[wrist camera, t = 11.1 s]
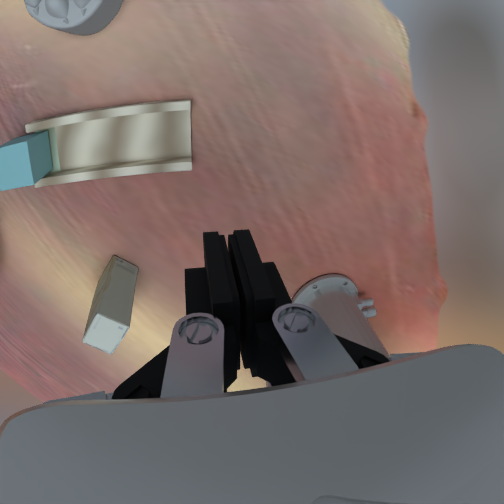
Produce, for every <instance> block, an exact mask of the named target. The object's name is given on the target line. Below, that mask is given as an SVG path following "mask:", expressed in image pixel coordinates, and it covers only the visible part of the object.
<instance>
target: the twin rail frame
mask: <svg viewBox="0 0 504 504" xmlns="http://www.w3.org/2000/svg"><path fill="white" fill-rule="evenodd" d="M190 110H191V109H190V99H185V100H169V101H156V102H146V103H136V104H127V105H119V106H112V107H105V108H98V109H92V110H86V111H80V112H75V113H69V114H64V115H59V116H54V117H50V118H45V119H41V120H37V121H34V122H32V123H29V124H27V125H25V127H26V133H29V132H33V131H35V133H38V132H43V131H48V136H49V144H50V152H51V159H52V165H53V169H52V170H51V171H49V172H48V173H47V174H46V175H45V176H44V177H42V178H41V179H40V180H39V181H38V182H37V183H36V184H35V188H37V187H43V186H49V185H55V184H62V183H69V182H76V181H84V180H91V179H100V178H108V177H117V176H127V175H137V174H148V173H159V172H172V171H187V170H192V159H191V118H190Z"/></svg>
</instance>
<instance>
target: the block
mask: <svg viewBox="0 0 504 504" xmlns="http://www.w3.org/2000/svg"><path fill="white" fill-rule="evenodd" d="M52 169H53V165H52V159H51V152H50V144H49V136H48V131H43V132H38V133H34V134H29V135H25V136H21V137H17V138H15V139H13V140H11V141H9V142H7V143H5V144H3V145H1V146H0V189H1V191H3V190H8V189H13V188H19V187H24V186H30V185H34V184H36V183H37V182H38V181H39V180H40V179H41V178H42V177H44V176H45V175H46V174H47V173H48V172H49V171H51V170H52Z"/></svg>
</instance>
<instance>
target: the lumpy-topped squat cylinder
mask: <svg viewBox="0 0 504 504" xmlns="http://www.w3.org/2000/svg"><path fill="white" fill-rule="evenodd" d="M24 2H25V5H26V8H27V10H28V12H29V14H30V15H31V16H32V17H33V18H35V19H36V20H37V21H39V22H40V23H42V24H43V25H45V26H47V27H50V28H54V29H57V30H61V31H64V32H67V33H71V34H75V35H82V36H87V35H92V34H95V33H97V32H99V31H101V30H102V29H104V28H105V27H106V26H107V25H108V24H109V23H110V22H111V21H112V20H113V18H114V17H115V16H116V14H117V13H118V11H119V9H120V7H121V5H122V2H123V0H24Z"/></svg>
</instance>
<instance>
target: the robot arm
mask: <svg viewBox="0 0 504 504" xmlns="http://www.w3.org/2000/svg"><path fill="white" fill-rule="evenodd" d="M203 242H204V260H205V267H203V268H190V269H185V295H186V316H184V317H182V318H181V319H179V320H178V321H177V322H176V324H175V326H174V328H173V332H172V337H171V342H170V345H169V346H168V347H167V348H165V349H164V350H163V351H162V352H160V353H159V354H158V355H157V356H155V357H154V358H153V359H152V360H150V361H149V362H148V363H147V364H145V365H144V366H143V367H142V368H140V369H139V370H138V371H137V372H135V373H134V374H133V375H132V376H130V377H129V378H128V379H127V380H125V381H124V382H123V383H122V384H120V385H119V386H118V387H117V388H116V390H115V391H114V393H109V394H106V393H105V391H101V392H96V393H90V394H85V395H80V396H74V397H68V398H62V399H56V400H50V401H47V402H44V403H43V404H40V405H36V406H33V407H30V408H27V409H24V410H21V411H19V412H17V413H15V414H13V415H11V416H10V417H9V418H7V419H6V420H5V421H4V422H3V423H2V425H1V426H0V504H504V355H503V354H502V353H501V352H500V351H498V350H497V349H495V348H493V347H490V346H485V345H478V344H462V345H454V346H448V347H443V348H439V349H435V350H431V351H427V352H420V353H403V354H390V355H389V354H388V352H387V350H386V349H385V347H384V346H383V344H382V342H381V341H380V339H379V338H378V336H377V335H376V333H375V331H374V330H373V328H372V327H371V325H370V324H369V322H368V320H367V319H366V318H369V317H374V316H376V308H375V307H374V306H372V305H373V303H374V302H373V299H372V298H368V299H364V300H361V299H360V298H359V297H358V290H357V288H356V286H355V284H354V283H353V282H352V281H351V280H350V279H349V278H348V277H346V276H343V275H339V274H330V275H324V276H321V277H318V278H316V279H313V280H312V281H310V282H308V283H307V284H306V285H304V286H303V287H302V288H301V289H300V290H299V291H298V292H297V293H296V295H295V296H294V298H293V300H292V301H291V299H290V297H289V295H288V292H287V290H286V288H285V286H284V283H283V281H282V279H281V277H280V274H279V272H278V270H277V268H276V265H275V264H274V262H266V263H262V261H261V259H260V256H259V254H258V251H257V248H256V246H255V243H254V241H253V238H252V236H251V233H250V231H249V230H234V233H233V234H231V235H228V249H227V245H226V241H225V237H224V235H219V234H218V232H203ZM364 306H372V307H366V308H364V309H362V307H364ZM240 351H241V356H242V360H243V365H244V368H245V369H247V368H250V370H251V374H252V377H257V376H258V377H260V378H262V379H264V380H266V387H265V388H258V389H250V390H243V391H235V392H227V388H228V387H229V386H230V385H231V384H232V383H233V382H234V381H235V380H236V379H237V370H239V369H240Z"/></svg>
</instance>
